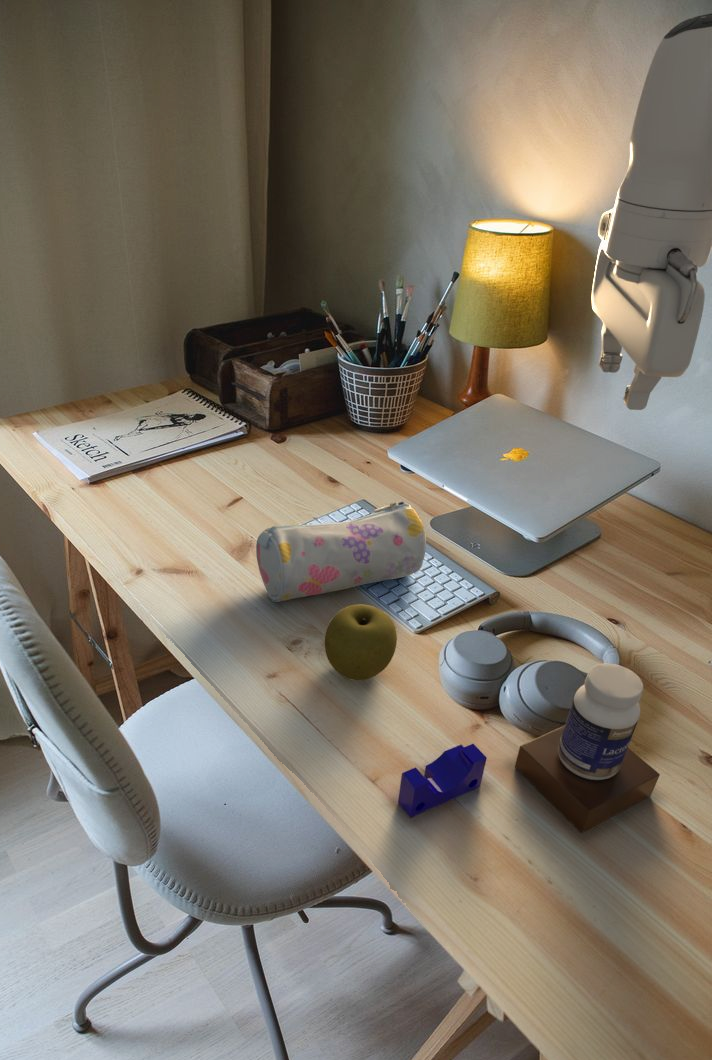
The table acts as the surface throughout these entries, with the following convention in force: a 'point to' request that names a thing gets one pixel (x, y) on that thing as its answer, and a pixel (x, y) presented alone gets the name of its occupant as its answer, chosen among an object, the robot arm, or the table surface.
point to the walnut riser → (583, 782)
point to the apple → (360, 641)
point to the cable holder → (442, 779)
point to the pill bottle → (601, 722)
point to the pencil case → (341, 553)
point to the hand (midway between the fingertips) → (620, 387)
